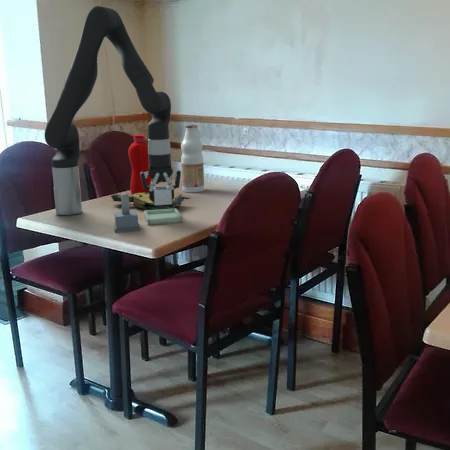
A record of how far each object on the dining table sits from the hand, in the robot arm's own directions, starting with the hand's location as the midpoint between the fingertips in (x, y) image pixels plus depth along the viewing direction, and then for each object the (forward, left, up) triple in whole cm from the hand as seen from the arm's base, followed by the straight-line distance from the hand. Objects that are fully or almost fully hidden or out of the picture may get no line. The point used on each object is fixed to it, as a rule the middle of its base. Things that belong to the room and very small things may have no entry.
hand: (162, 200), depth 198 cm
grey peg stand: (-13, -9, -6) cm, 17 cm away
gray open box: (0, 0, -1) cm, 1 cm away
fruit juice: (+19, +45, -7) cm, 49 cm away
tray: (0, 0, -6) cm, 6 cm away
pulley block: (-3, +20, -7) cm, 21 cm away
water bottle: (-2, +44, -7) cm, 45 cm away
